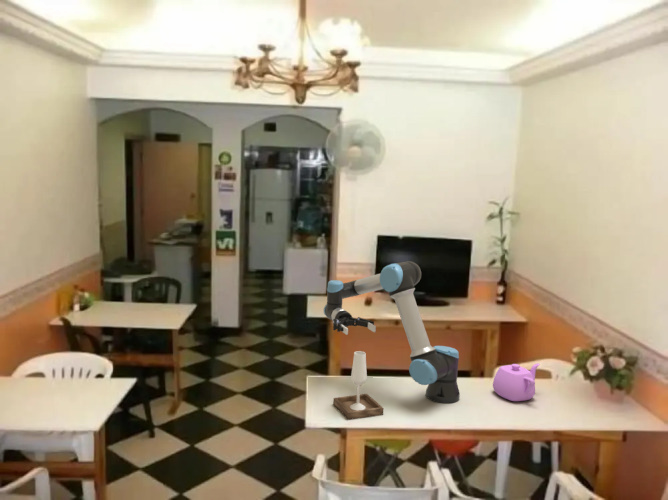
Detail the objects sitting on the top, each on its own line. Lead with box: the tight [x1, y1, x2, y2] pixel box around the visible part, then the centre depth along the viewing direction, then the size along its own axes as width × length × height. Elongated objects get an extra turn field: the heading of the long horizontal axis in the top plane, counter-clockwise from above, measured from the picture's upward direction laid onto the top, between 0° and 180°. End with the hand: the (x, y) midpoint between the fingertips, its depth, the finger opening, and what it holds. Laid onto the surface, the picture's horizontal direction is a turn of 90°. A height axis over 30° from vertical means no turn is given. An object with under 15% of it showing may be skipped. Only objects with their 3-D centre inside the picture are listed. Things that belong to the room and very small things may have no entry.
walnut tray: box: [332, 393, 384, 421], centre depth 261 cm, size 16×16×3 cm
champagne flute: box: [350, 350, 368, 410], centre depth 259 cm, size 7×7×24 cm
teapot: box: [492, 363, 540, 402], centre depth 281 cm, size 23×21×15 cm
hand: (361, 330), depth 272 cm, fingers open, 13 cm apart
